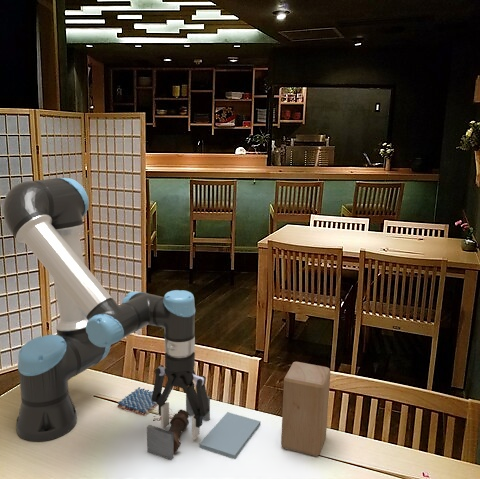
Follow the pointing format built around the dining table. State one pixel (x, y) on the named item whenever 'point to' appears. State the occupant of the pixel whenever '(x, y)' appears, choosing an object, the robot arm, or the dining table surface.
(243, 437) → the slate pad
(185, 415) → the bolt
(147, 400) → the woven mat
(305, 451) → the wooden block
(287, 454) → the dining table surface
